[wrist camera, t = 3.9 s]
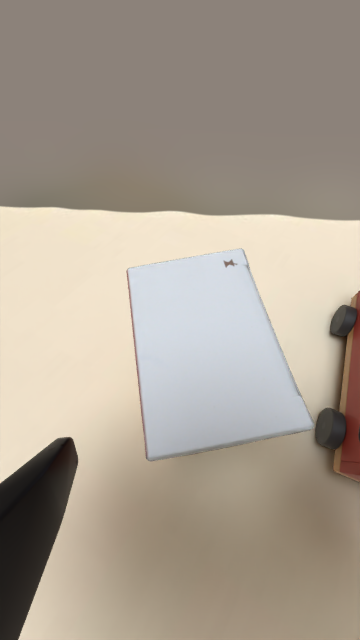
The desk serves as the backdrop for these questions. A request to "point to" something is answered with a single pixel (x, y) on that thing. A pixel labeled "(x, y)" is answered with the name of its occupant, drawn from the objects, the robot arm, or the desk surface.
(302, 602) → the desk surface
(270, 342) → the small box
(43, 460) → the robot arm
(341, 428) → the cart
